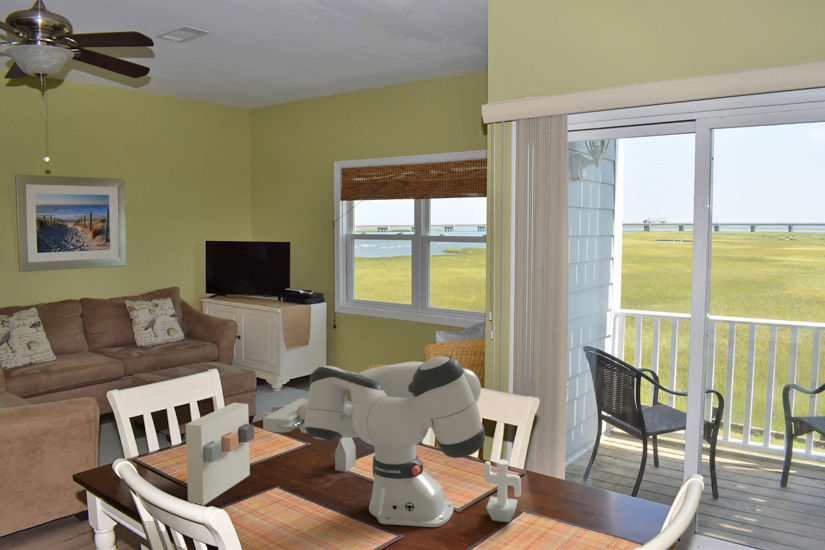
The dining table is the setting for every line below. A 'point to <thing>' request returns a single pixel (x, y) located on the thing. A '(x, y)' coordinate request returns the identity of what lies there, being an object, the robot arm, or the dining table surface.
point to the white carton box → (345, 454)
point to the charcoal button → (246, 433)
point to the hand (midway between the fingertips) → (267, 412)
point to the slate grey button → (212, 451)
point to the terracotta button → (229, 442)
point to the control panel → (233, 465)
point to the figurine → (502, 491)
